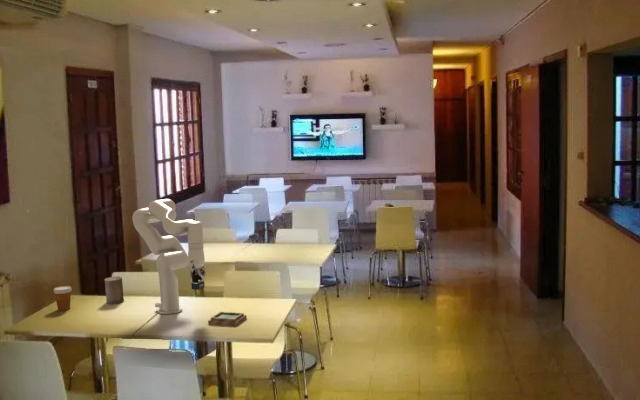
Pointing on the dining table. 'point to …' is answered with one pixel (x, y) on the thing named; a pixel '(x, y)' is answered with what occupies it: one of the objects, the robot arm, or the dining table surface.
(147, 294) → the dining table surface
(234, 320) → the stand
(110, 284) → the pillar candle
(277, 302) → the dining table surface
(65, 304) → the disposable coffee cup
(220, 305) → the dining table surface
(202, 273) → the watch
